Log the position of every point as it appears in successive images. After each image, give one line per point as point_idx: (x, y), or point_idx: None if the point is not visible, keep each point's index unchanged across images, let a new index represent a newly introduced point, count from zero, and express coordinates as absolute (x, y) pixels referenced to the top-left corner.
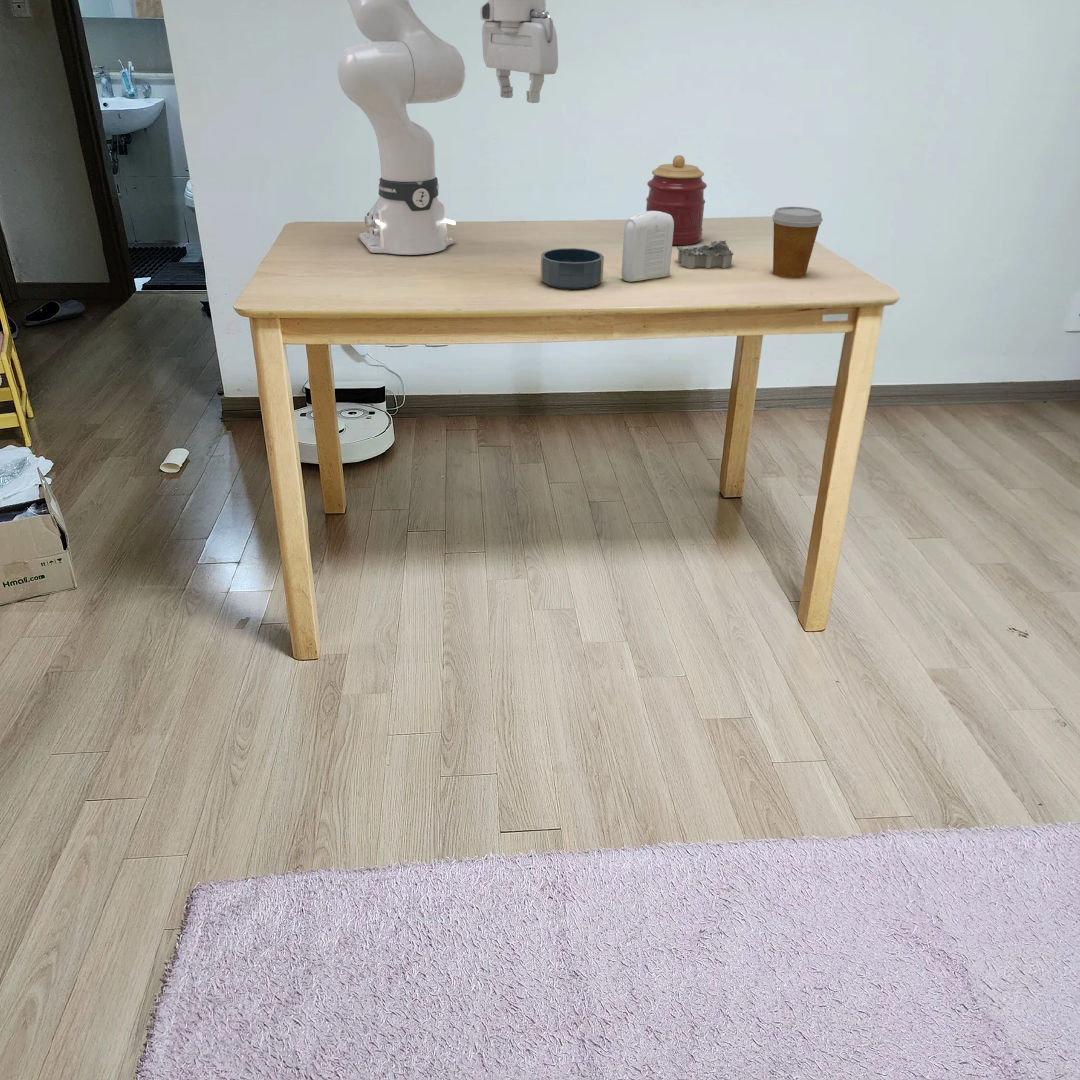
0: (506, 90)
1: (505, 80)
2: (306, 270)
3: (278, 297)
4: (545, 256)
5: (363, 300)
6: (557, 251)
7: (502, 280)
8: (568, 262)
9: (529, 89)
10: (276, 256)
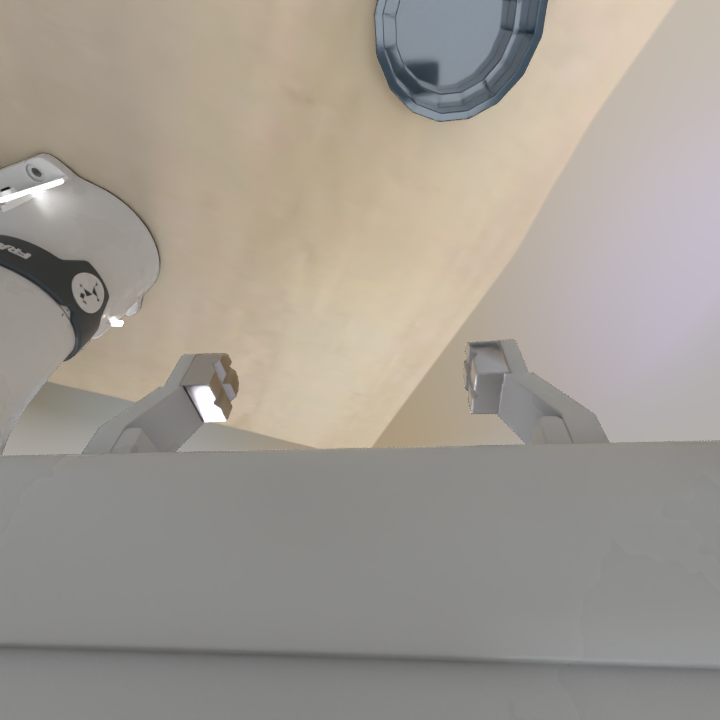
0: (226, 399)
1: (166, 426)
2: None
3: (337, 434)
4: (404, 90)
5: (386, 379)
6: (383, 34)
7: (368, 176)
8: (512, 78)
9: (507, 422)
10: None
